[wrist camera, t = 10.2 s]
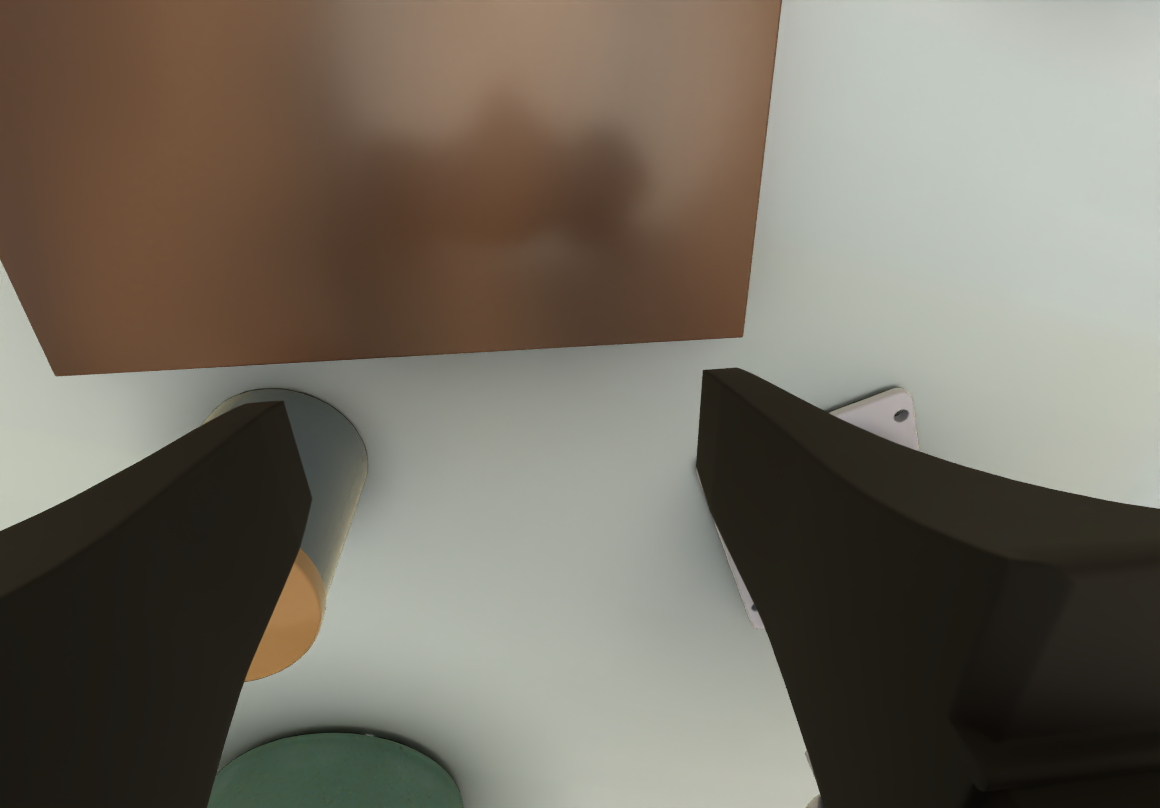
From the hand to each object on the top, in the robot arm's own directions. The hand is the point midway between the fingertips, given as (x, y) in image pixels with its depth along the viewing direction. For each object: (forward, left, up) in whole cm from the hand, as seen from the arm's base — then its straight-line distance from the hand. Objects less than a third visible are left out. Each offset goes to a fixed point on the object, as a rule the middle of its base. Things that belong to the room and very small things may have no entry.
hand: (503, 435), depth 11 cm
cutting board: (+4, +2, -9) cm, 10 cm away
